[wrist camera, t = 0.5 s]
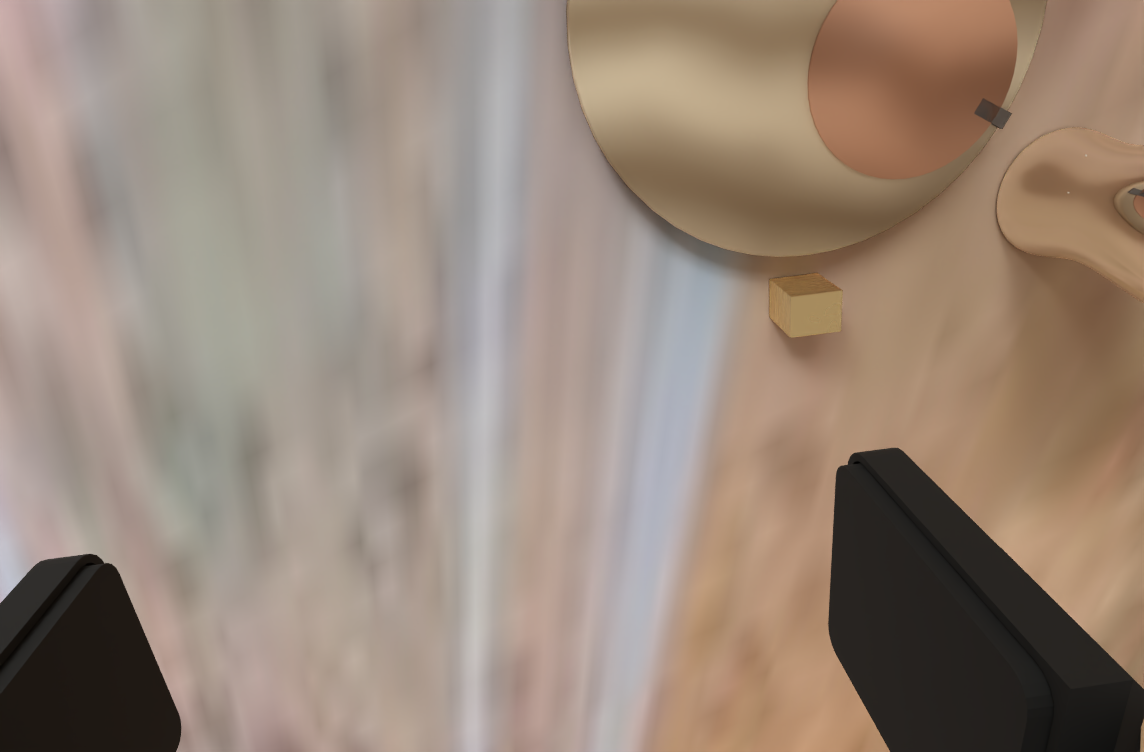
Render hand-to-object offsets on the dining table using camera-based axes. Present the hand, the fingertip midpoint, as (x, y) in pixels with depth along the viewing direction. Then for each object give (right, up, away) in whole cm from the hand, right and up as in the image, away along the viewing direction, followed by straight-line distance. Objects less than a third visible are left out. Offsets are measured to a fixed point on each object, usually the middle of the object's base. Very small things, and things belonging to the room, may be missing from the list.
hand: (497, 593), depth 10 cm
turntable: (+11, +18, +22) cm, 31 cm away
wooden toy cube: (+12, +7, +27) cm, 31 cm away
